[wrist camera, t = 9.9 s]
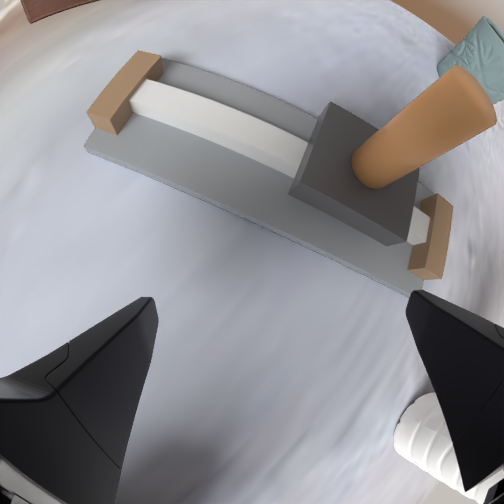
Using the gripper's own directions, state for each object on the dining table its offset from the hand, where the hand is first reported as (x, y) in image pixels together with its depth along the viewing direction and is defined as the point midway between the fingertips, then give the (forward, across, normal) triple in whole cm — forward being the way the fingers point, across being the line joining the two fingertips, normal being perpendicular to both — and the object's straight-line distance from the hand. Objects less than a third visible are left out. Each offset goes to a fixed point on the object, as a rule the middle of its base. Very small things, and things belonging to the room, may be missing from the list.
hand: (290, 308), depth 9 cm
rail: (+12, -1, -3) cm, 12 cm away
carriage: (+9, -5, -3) cm, 11 cm away
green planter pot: (+25, -28, -15) cm, 40 cm away
